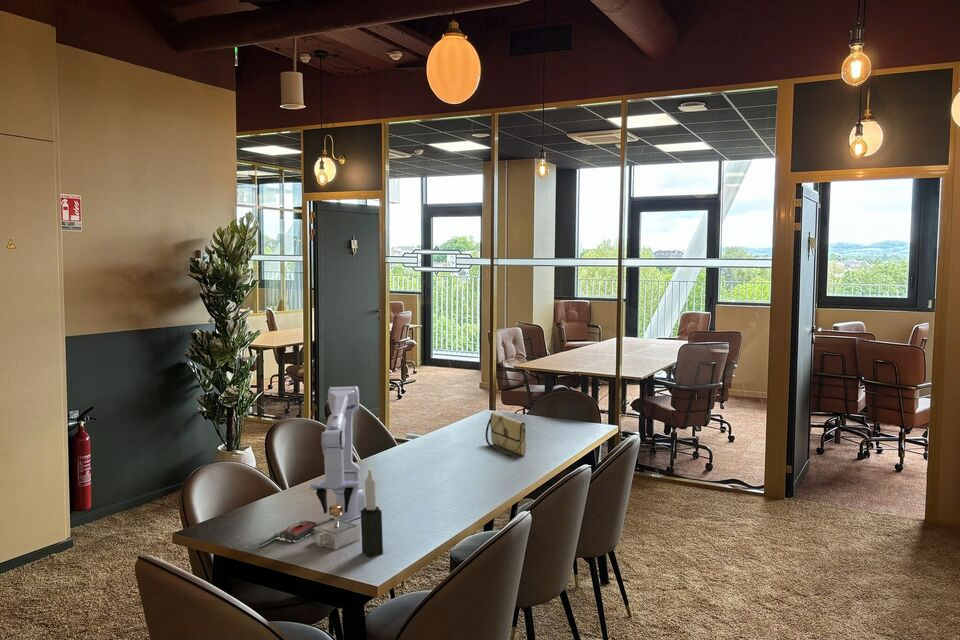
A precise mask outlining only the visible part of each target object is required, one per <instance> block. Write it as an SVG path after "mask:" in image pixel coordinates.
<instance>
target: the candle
mask: <svg viewBox="0 0 960 640" xmlns="http://www.w3.org/2000/svg"><path fill="white" fill-rule="evenodd" d="M367 472H368V474H367V478H366V479H365V482H364V488H365V492H364V495H365V508H363V510H361V517H360V523H361V524H360V534H361V551H362V552H361V554H363V555H364V556H365V557H367V558H373V557H376V556H379V555H383V553H384V547H383V545H384V544H383V542H384V540H383V514H382V510H381V509H380V507H379V506H377V497H376V493H377V492H376V480H375V478H374V476H373V474H372V469H368V471H367Z"/></svg>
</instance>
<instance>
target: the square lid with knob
mask: <svg viewBox="0 0 960 640" xmlns="http://www.w3.org/2000/svg"><path fill="white" fill-rule="evenodd" d="M328 510H329V511H328V513H329V514H328V515H329V516H330V517H331V516H334V519H333V521H334V522H333V523H330V524H327V525H325V526H322V527H319V528H318V529H321V530H324V531H327V532H330V533H333V534H336V533H339V532H341V531H344V530H347V529H349V528H352V527H355V526H354V525H351V524H348V523H344V522H341V521H338V516H339V515H342V514H343V507H342V505H336V504H332V505H329V507H328Z"/></svg>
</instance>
